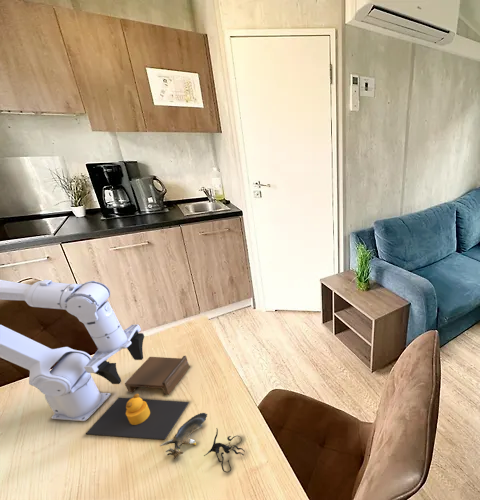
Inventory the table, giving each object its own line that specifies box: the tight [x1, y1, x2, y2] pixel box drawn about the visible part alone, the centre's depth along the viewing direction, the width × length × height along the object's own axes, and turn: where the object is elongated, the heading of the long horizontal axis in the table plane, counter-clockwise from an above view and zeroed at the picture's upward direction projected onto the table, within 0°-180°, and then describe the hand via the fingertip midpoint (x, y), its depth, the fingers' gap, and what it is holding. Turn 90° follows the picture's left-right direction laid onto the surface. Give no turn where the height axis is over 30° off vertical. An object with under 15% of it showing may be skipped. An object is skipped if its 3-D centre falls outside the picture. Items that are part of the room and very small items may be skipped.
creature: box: [203, 427, 246, 473], centre depth 64 cm, size 8×5×8 cm
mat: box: [85, 397, 189, 441], centre depth 73 cm, size 20×10×1 cm, turn 86°
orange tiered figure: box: [126, 393, 150, 425], centre depth 72 cm, size 4×4×7 cm
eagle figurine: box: [159, 412, 208, 460], centre depth 67 cm, size 8×7×9 cm
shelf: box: [124, 355, 190, 396], centre depth 84 cm, size 12×10×5 cm
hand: (128, 370), depth 74 cm, fingers open, 7 cm apart
